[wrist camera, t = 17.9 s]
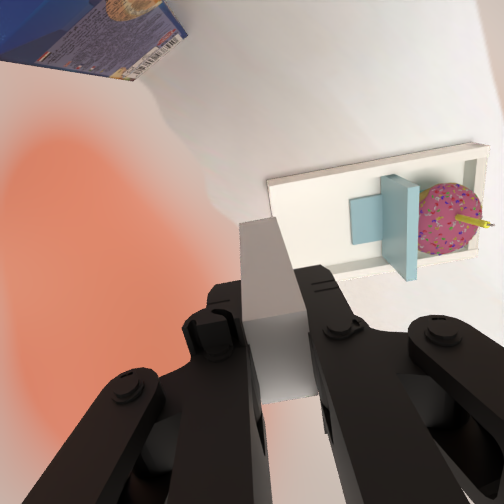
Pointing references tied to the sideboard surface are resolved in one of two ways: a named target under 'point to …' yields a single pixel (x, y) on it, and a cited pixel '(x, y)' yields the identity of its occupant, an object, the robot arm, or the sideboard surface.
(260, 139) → the sideboard surface
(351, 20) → the sideboard surface
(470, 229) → the cupcake
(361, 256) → the white shallow tray
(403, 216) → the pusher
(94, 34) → the juice carton
